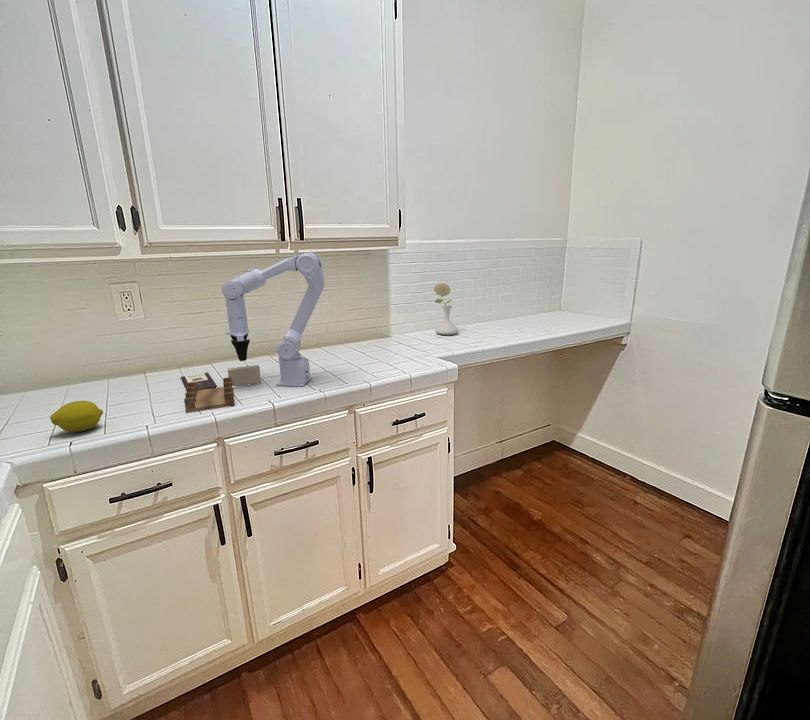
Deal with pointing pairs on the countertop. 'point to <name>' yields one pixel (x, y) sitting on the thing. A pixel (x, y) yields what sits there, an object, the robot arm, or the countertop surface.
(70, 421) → the lemon
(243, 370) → the clay slab
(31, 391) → the countertop surface
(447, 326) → the flower in vase
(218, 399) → the pegged wooden tray
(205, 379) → the chocolate bar
